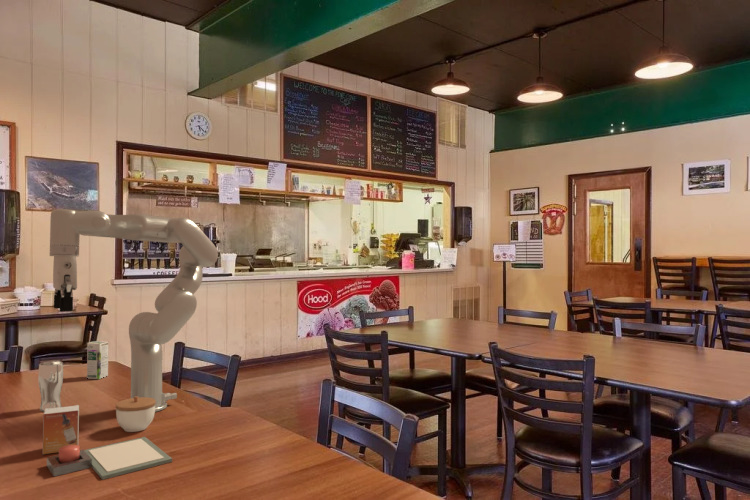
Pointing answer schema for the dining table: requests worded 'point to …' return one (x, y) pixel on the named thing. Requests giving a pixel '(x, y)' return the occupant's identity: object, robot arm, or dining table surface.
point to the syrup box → (97, 359)
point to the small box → (60, 428)
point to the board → (126, 457)
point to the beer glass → (50, 384)
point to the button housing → (68, 464)
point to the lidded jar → (135, 413)
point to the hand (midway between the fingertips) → (63, 309)
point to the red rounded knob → (69, 453)
